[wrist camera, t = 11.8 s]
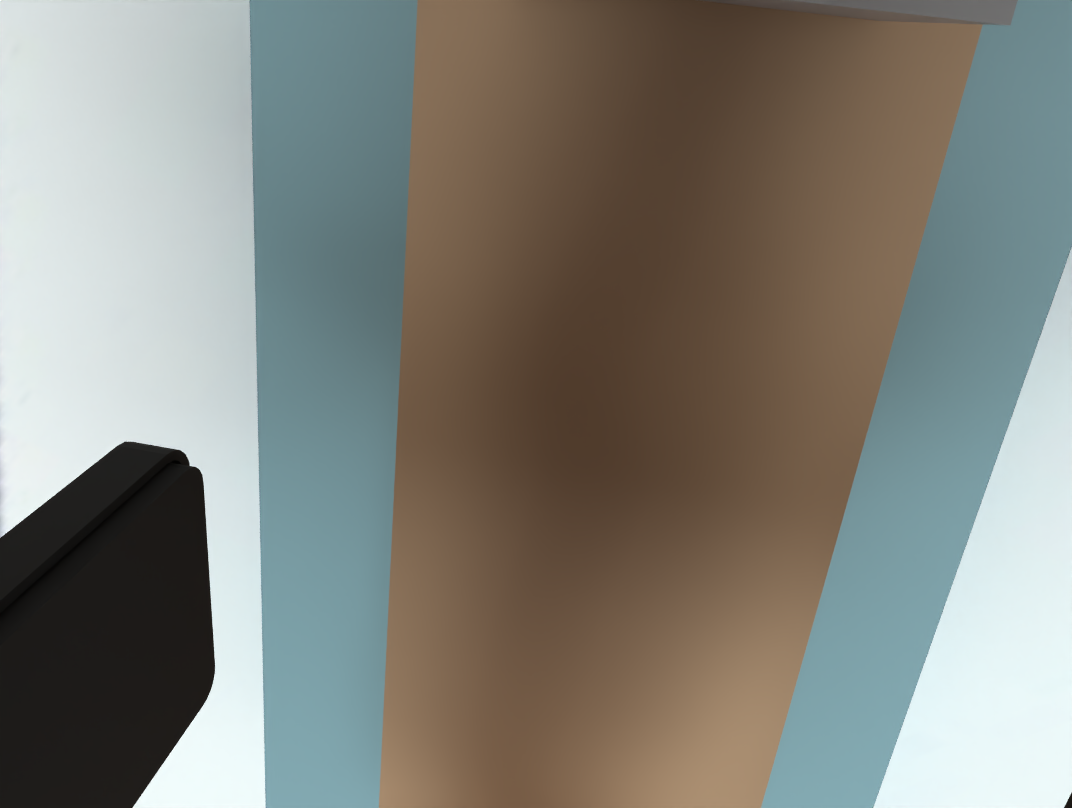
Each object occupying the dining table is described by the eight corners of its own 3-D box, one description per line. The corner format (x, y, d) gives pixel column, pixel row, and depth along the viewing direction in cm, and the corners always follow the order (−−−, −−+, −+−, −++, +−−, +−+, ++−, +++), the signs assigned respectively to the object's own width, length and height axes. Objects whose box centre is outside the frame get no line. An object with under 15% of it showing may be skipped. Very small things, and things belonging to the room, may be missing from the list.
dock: (1195, -453, 14) (1375, -610, 11) (798, 823, 26) (820, 957, 22) (338, -514, 15) (236, -676, 12) (321, 734, 27) (266, 847, 23)
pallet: (966, -338, 12) (1144, -547, 8) (685, 835, 21) (688, 1061, 17) (526, -373, 13) (446, -591, 8) (433, 787, 22) (369, 994, 17)
